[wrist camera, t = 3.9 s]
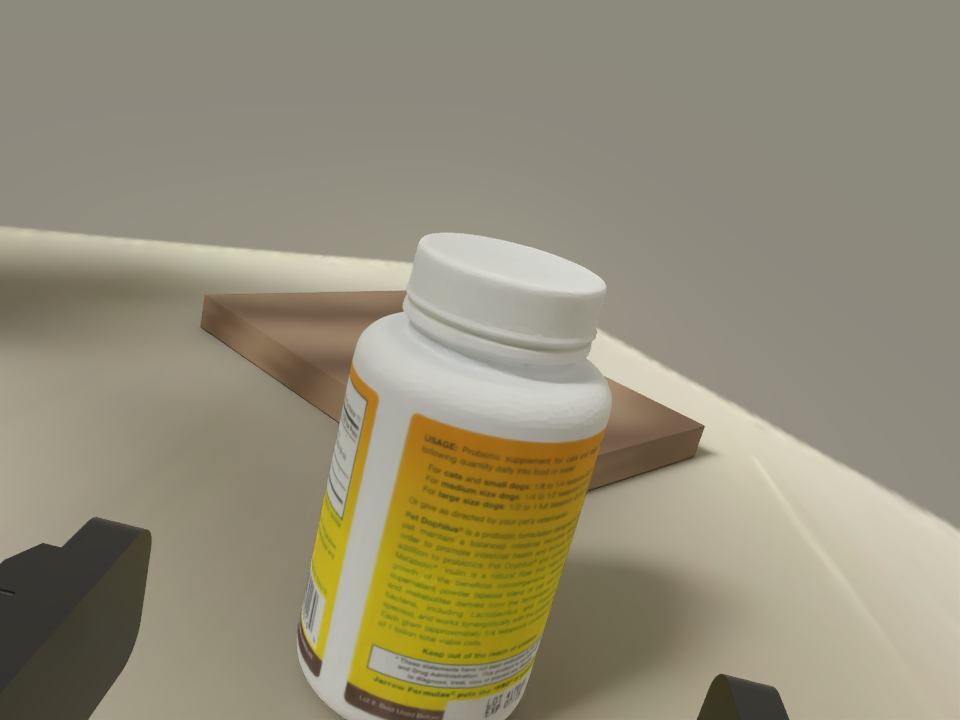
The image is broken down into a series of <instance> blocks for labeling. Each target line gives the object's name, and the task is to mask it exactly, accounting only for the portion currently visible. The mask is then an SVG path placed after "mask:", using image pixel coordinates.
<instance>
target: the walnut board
mask: <svg viewBox="0 0 960 720" xmlns="http://www.w3.org/2000/svg"><path fill="white" fill-rule="evenodd" d="M406 295H407V292H406V291H364V292H319V293H274V294H228V295H205V299H204V306H203V313H202V320H201V327H202V328H203V329H205V330H206V331H208V332H209V333H210V334H212V335H213V336H215V337H216V338H218V339H219V340H221V341H222V342H223V343H225V344H226V345H228V346H229V347H231V348H232V349H234V350H235V351H236V352H238V353H239V354H241V355H242V356H244V357H245V358H246V359H248V360H249V361H251V362H252V363H254V364H255V365H257V366H258V367H259V368H261V369H262V370H264V371H265V372H267V373H268V374H270V375H271V376H272V377H274V378H275V379H277V380H278V381H280V382H281V383H283V384H284V385H285V386H287V387H288V388H290V389H291V390H293V391H294V392H296V393H297V394H298V395H300V396H301V397H303V398H304V399H306V400H307V401H308V402H310V403H311V404H313V405H314V406H316V407H317V408H319V409H320V410H321V411H323V412H324V413H326V414H327V415H329V416H330V417H332V418H333V419H334V420H336V421H337V422H339V423H340V419H341V414H342V409H343V404H344V399H345V394H346V389H347V384H348V380H349V375H350V369H351V364H352V360H353V356H354V352H355V348H356V345H357V342H358V340H359V338H360V336H361V334H362V333H363V331H364V330H365V329H366V328H367V327H369V326H370V325H371V324H372V323H374V322H375V321H377V320H379V319H380V318H383V317H385V316H388V315H391V314H395V313H400V312H404V311H403V302H404V299H405V297H406ZM604 378H605V379H606V381H607V383H608V385H609V388H610V391H611V395H612V406H611V411H610V416H609V420H608V423H607V427H606V430H605V433H604V436H603V440H602V443H601V446H600V449H599V452H598V456H597V459H596V462H595V466H594V469H593V472H592V476H591V479H590V482H589V486H588V489H587V491H588V490H591V489H594V488H597V487H600V486H603V485H606V484H609V483H613V482H616V481H619V480H622V479H625V478H628V477H631V476H634V475H638V474H641V473H644V472H647V471H650V470H653V469H656V468H659V467H662V466H666V465H669V464H672V463H675V462H678V461H681V460H684V459H687V458H690V457H694V456H695V453H696V450H697V447H698V444H699V441H700V438H701V436H702V433H703V430H704V427H705V426H704V425H702V424H700V423H698V422H696V421H694V420H692V419H690V418H688V417H686V416H684V415H682V414H680V413H678V412H676V411H674V410H672V409H670V408H668V407H666V406H664V405H662V404H659V403H657V402H655V401H653V400H651V399H649V398H647V397H645V396H643V395H641V394H639V393H637V392H635V391H633V390H631V389H629V388H627V387H625V386H623V385H621V384H619V383H617V382H615V381H613V380H611V379H609V378H607V377H605V376H604Z"/></svg>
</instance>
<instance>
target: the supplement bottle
mask: <svg viewBox="0 0 960 720" xmlns="http://www.w3.org/2000/svg"><path fill="white" fill-rule="evenodd" d="M606 289H607V288H606V284H605V283H604V281H603V280H602V279H601V278H599V277H598V276H597V275H596V274H594V273H593V272H591V271H589V270H587V269H585V268H584V267H582V266H580V265H578V264H576V263H573V262H571V261H569V260H566V259H564V258H561V257H559V256H556V255H553V254H550V253H546V252H544V251H541V250H538V249H535V248H531V247H527V246H523V245H520V244H516V243H512V242H508V241H503V240H499V239H494V238H489V237H483V236H477V235H470V234H459V233H435V234H430V235H426V236H424V237H423V238H422V239H421V240H420V241H419V244H418V246H417V251H416V255H415V259H414V264H413V268H412V272H411V276H410V279H409V282H408V283H407V285H406V292H407V295H406V297H405V299H404V302H403V311H404V312H400V313H395V314H391V315H388V316H385V317H383V318H380V319H379V320H377V321H375V322H374V323H372V324H371V325H370V326H369V327H367V328H366V329H365V330H364V331H363V333H362V334H361V336H360V338H359V340H358V342H357V345H356V348H355V352H354V356H353V360H352V364H351V369H350V375H349V380H348V384H347V389H346V394H345V399H344V404H343V409H342V414H341V419H340V424H339V429H338V434H337V439H336V444H335V448H334V453H333V458H332V462H331V467H330V472H329V476H328V481H327V485H326V491H325V495H324V499H323V505H322V510H321V515H320V520H319V525H318V530H317V536H316V540H315V545H314V550H313V555H312V559H311V565H310V570H309V575H308V580H307V585H306V591H305V596H304V600H303V605H302V610H301V615H300V620H299V625H298V632H297V652H298V658H299V661H300V665H301V668H302V670H303V673H304V675H305V677H306V679H307V681H308V682H309V684H310V685H311V687H312V688H313V690H314V691H315V692H316V693H317V695H318V696H319V697H320V698H321V699H322V700H323V701H324V702H325V703H326V704H327V705H328V706H329V707H330V708H331V709H333V710H334V711H335V712H336V713H338V714H339V715H340V716H342V717H343V718H345V719H346V720H505V719H506V718H507V717H508V716H509V715H510V714H511V713H512V711H513V710H514V709H515V708H516V706H517V705H518V703H519V701H520V700H521V698H522V696H523V694H524V691H525V689H526V686H527V683H528V680H529V677H530V674H531V671H532V667H533V664H534V661H535V657H536V654H537V651H538V648H539V644H540V641H541V638H542V634H543V631H544V628H545V625H546V622H547V619H548V615H549V612H550V609H551V606H552V602H553V599H554V596H555V593H556V590H557V587H558V583H559V580H560V577H561V573H562V570H563V567H564V564H565V561H566V557H567V554H568V551H569V547H570V544H571V541H572V538H573V535H574V532H575V528H576V525H577V522H578V519H579V515H580V512H581V509H582V505H583V502H584V499H585V496H586V492H587V489H588V486H589V482H590V479H591V476H592V472H593V469H594V466H595V462H596V459H597V456H598V452H599V449H600V446H601V443H602V440H603V436H604V433H605V430H606V427H607V423H608V420H609V416H610V411H611V406H612V395H611V391H610V388H609V385H608V383H607V381H606V379H605V378H604V376H603V375H602V373H601V372H600V371H599V370H598V369H597V367H595V366H594V365H593V364H592V363H591V362H590V361H589V360H587V359H586V358H585V357H587V356H588V354H589V352H590V349H591V344H592V343H591V342H592V341H593V340H594V339H595V338H596V334H597V330H596V328H597V323H598V320H599V316H600V313H601V309H602V305H603V302H604V299H605V295H606Z"/></svg>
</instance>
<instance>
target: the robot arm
mask: <svg viewBox="0 0 960 720" xmlns="http://www.w3.org/2000/svg"><path fill="white" fill-rule="evenodd" d="M150 551H151V533H150V531H149V530H146V529H142V528H138V527H134V526H130V525H126V524H122V523H118V522H114V521H110V520H106V519H102V518H98V517H95V518H92V519H91V520H89V521H88V522H87V523H86V524H85V525H84V526H83V527H82V528H81V529H80V530H79V531H78V532H77V533H76V534H75V535H74V536H73V537H72V538H71V539H70V540H69V541H68V542H67V543H66V544H65V545H64V546H63V547H62V548H61V547H57V546H53V545H49V544H45V543H42V544H40V545H37V546H35V547H33V548H30V549H28V550H26V551H24V552H21V553H19V554H17V555H15V556H12V557H10V558H8V559H5V560H4V561H3V562H2V563H1V564H0V720H88V719H89V717H90V716H91V714H92V713H93V712H94V710H95V709H96V707H97V706H98V704H99V703H100V702H101V700H102V699H103V697H104V696H105V695H106V693H107V692H108V690H109V689H110V687H111V686H112V685H113V683H114V682H115V680H116V679H117V677H118V676H119V675H120V673H121V672H122V670H123V669H124V667H125V665H126V663H127V661H128V659H129V657H130V655H131V652H132V650H133V647H134V645H135V642H136V639H137V635H138V632H139V627H140V622H141V615H142V608H143V601H144V594H145V587H146V579H147V572H148V565H149V558H150ZM697 720H789V718H788V715H787V713H786V710H785V708H784V705H783V703H782V700H781V697H780V695H779V693H778V691H777V690H776V688H774V687H772V686H768V685H764V684H760V683H756V682H752V681H748V680H744V679H740V678H736V677H732V676H728V675H724V674H719V675H718V676H716V677H715V679H714V680H713V682H712V683H711V686H710V688H709V690H708V693H707V695H706V698H705V701H704V703H703V706H702V708H701V711H700V713H699V716H698V718H697Z"/></svg>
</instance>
